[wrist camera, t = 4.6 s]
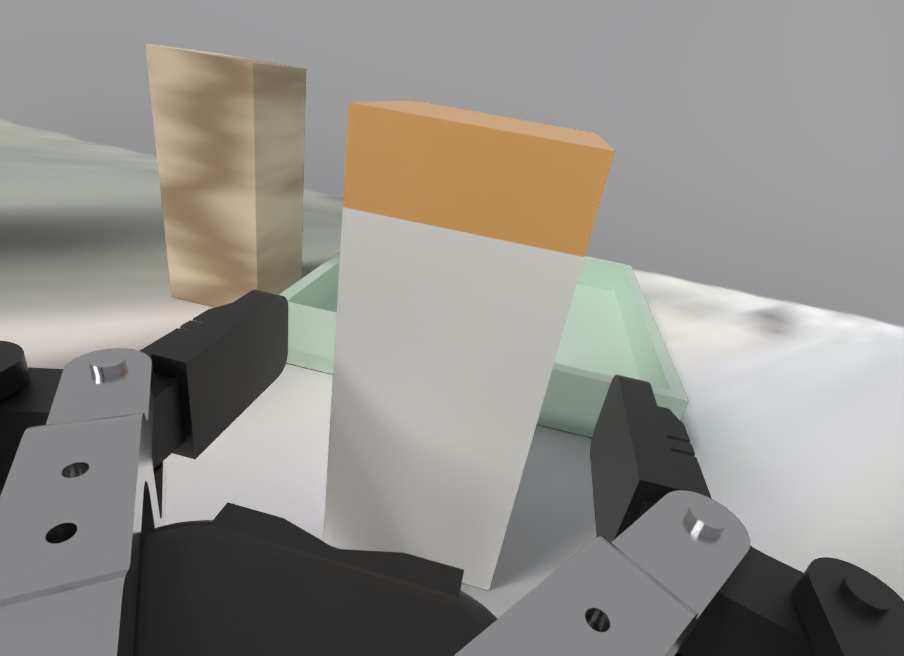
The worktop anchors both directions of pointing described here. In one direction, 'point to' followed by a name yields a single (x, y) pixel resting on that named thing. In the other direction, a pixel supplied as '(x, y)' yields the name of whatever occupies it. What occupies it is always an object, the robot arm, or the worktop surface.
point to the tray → (578, 357)
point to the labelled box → (449, 321)
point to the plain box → (228, 171)
